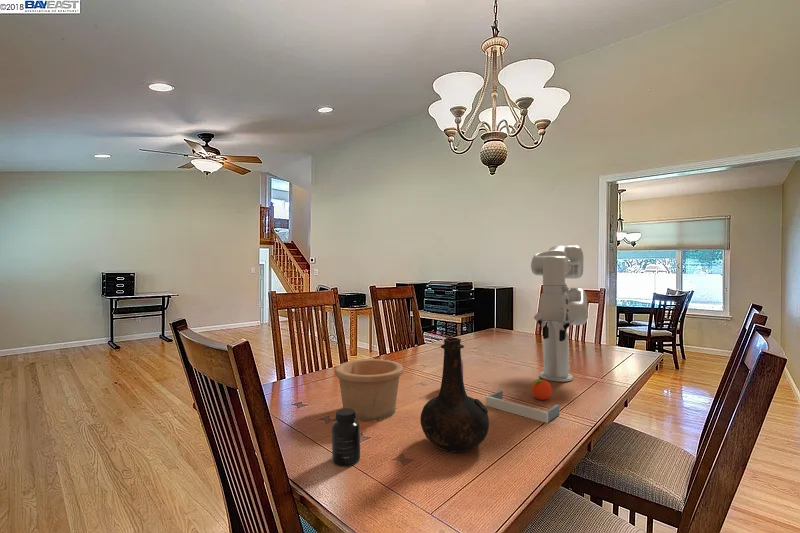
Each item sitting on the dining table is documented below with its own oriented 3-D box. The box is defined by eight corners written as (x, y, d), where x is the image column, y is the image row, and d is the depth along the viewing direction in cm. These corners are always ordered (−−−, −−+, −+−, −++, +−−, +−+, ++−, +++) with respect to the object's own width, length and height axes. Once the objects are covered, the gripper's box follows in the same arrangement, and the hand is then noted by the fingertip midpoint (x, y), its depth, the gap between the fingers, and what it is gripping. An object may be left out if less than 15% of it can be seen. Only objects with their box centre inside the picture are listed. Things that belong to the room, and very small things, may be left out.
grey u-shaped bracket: (500, 398, 141) (499, 390, 141) (559, 414, 126) (559, 405, 126) (485, 405, 134) (485, 396, 134) (546, 423, 119) (546, 413, 119)
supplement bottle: (333, 454, 101) (332, 406, 101) (360, 452, 102) (360, 405, 102) (330, 468, 95) (330, 417, 94) (360, 466, 95) (359, 416, 95)
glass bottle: (490, 464, 96) (490, 347, 95) (416, 458, 99) (415, 344, 99) (487, 432, 113) (487, 333, 113) (424, 428, 117) (423, 331, 116)
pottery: (411, 403, 137) (411, 361, 137) (388, 429, 116) (388, 379, 116) (354, 396, 144) (353, 356, 144) (322, 419, 123) (322, 373, 123)
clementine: (541, 404, 135) (541, 383, 135) (524, 398, 140) (524, 378, 140) (556, 400, 139) (556, 379, 139) (539, 394, 145) (539, 375, 145)
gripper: (581, 290, 144) (581, 341, 144) (536, 288, 156) (536, 335, 156) (573, 291, 138) (573, 344, 139) (527, 289, 150) (527, 338, 151)
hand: (553, 339), depth 147 cm, fingers open, 5 cm apart
